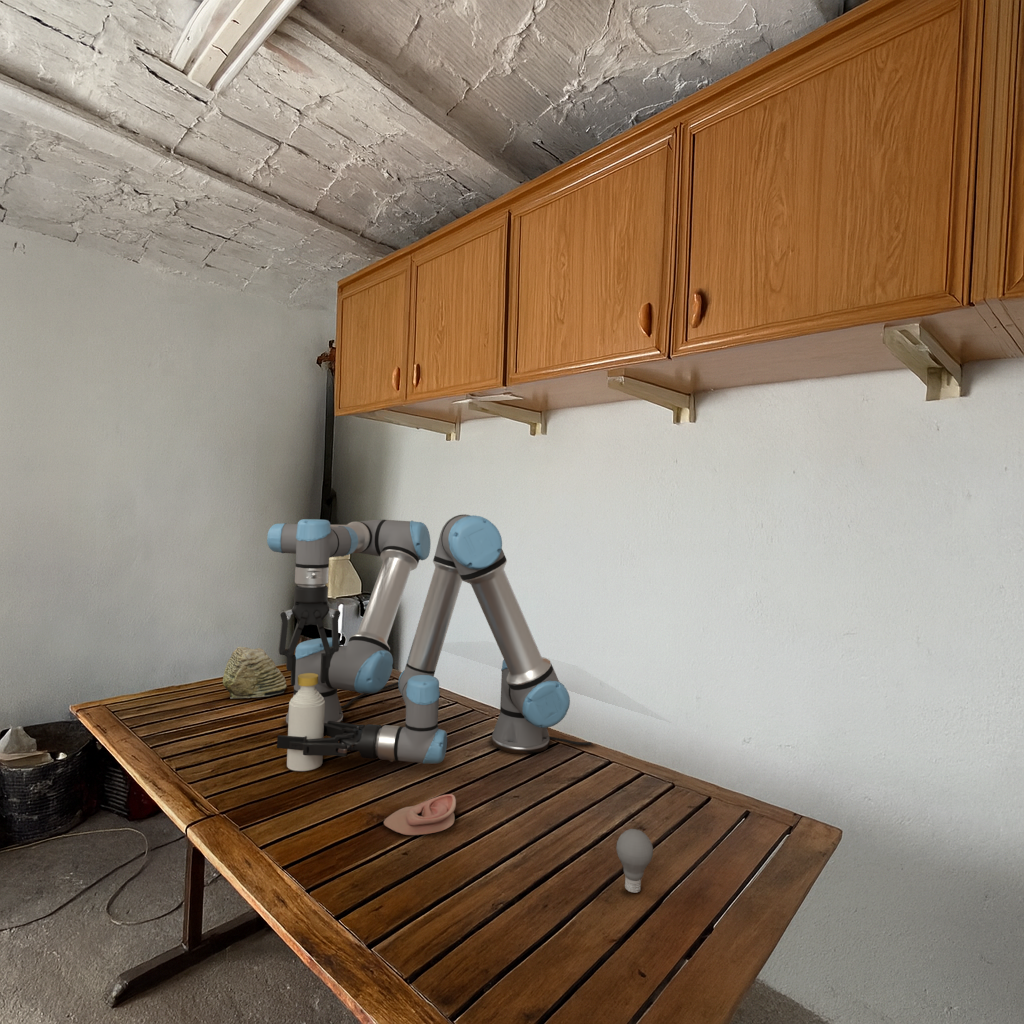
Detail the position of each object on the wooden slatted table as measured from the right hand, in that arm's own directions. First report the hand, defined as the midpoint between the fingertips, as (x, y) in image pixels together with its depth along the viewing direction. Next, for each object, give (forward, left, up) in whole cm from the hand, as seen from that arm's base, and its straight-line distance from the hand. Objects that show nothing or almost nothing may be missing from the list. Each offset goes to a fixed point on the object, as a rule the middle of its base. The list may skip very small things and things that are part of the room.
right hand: (286, 734), depth 150 cm
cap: (-4, +2, +14) cm, 15 cm away
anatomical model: (-25, +36, -7) cm, 44 cm away
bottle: (-4, +2, -7) cm, 8 cm away
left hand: (-4, +2, +13) cm, 14 cm away
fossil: (+9, -54, -7) cm, 55 cm away
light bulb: (-54, +67, -7) cm, 86 cm away
